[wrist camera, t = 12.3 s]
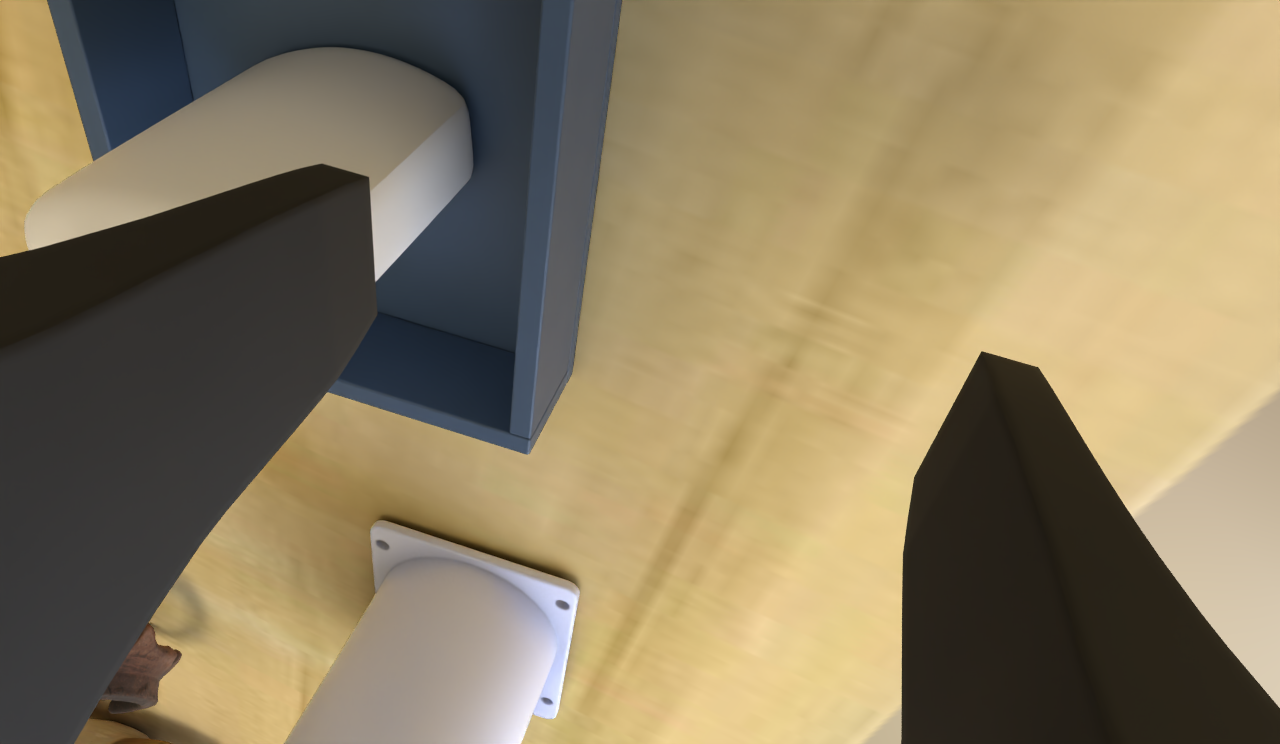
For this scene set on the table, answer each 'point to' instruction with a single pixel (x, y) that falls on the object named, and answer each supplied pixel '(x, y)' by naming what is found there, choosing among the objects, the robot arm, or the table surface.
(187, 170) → the eye dropper bottle
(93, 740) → the ceramic sculpture
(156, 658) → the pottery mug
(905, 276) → the table surface
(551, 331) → the tray
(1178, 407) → the table surface
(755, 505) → the table surface
